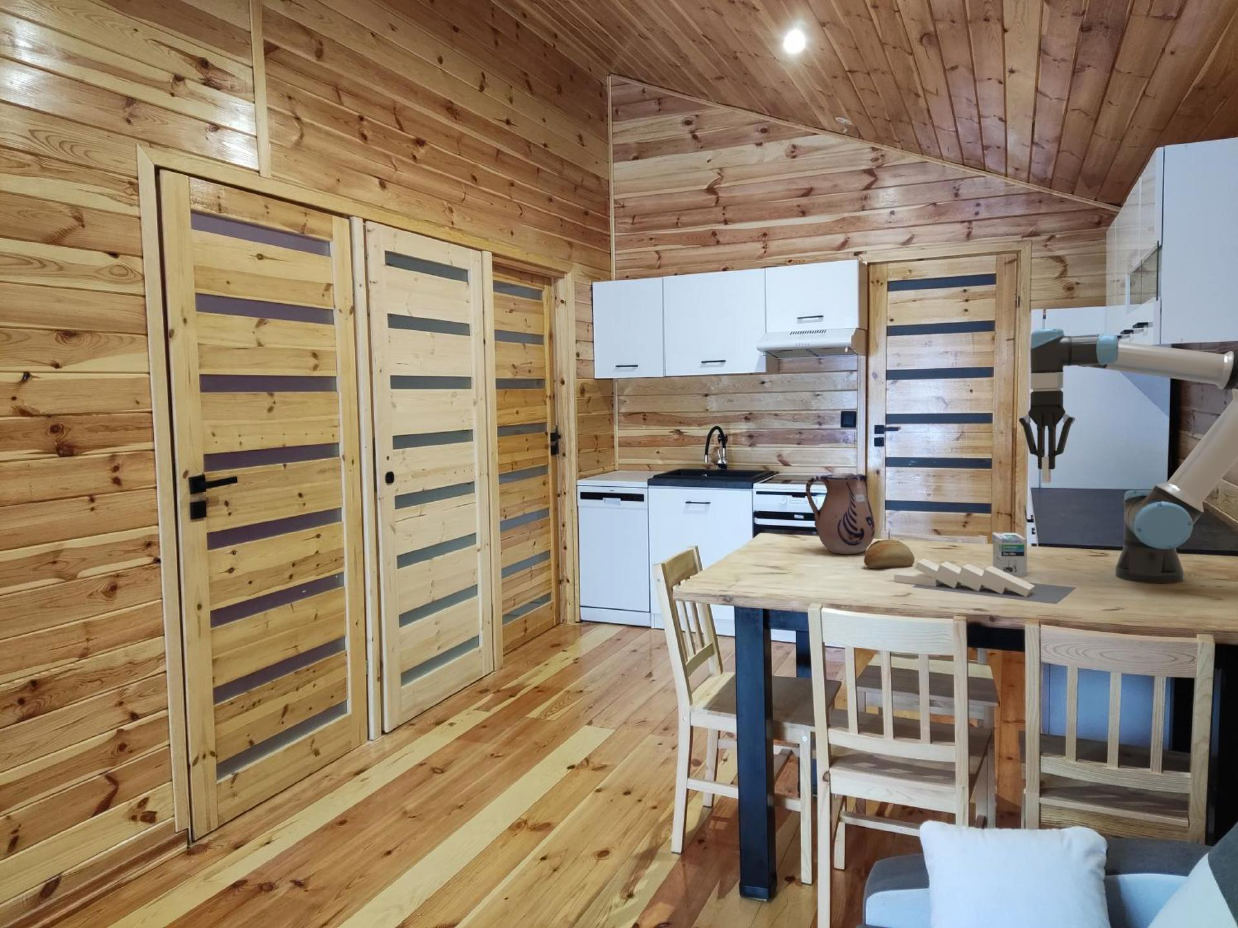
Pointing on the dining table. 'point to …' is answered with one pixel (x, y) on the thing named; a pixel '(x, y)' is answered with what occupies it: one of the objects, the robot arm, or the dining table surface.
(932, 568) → the domino
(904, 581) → the domino
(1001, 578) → the domino
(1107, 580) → the dining table surface
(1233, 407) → the robot arm
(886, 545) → the bread roll
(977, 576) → the domino
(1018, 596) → the mat
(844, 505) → the ceramic pitcher
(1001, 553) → the light bulb box
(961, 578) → the domino
